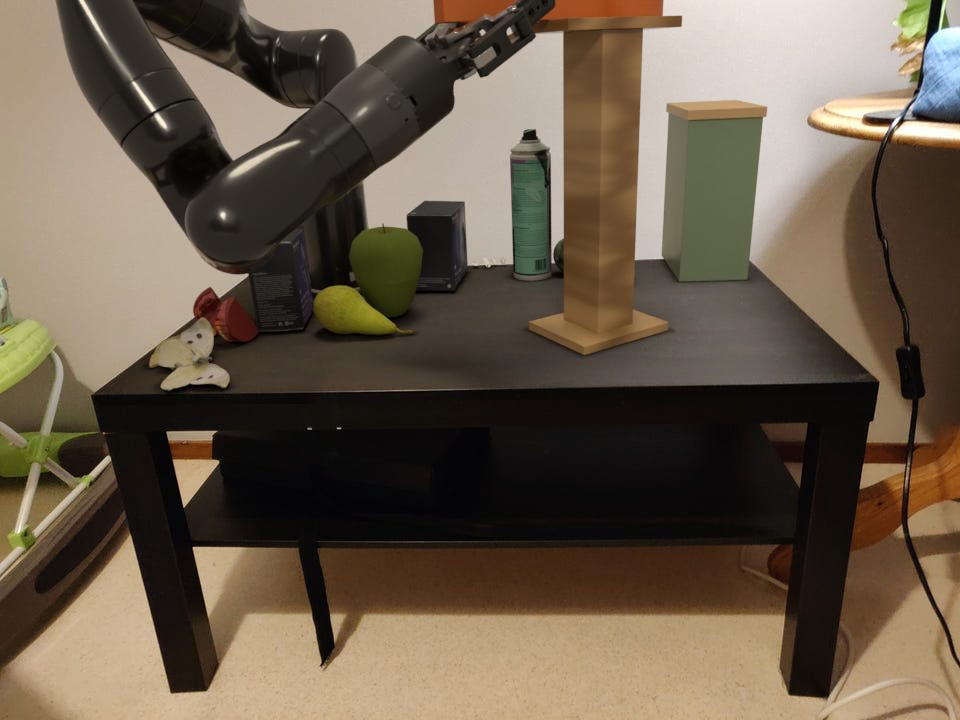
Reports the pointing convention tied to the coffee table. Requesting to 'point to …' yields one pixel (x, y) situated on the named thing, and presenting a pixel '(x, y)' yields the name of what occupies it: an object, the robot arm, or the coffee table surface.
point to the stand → (600, 181)
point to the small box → (440, 243)
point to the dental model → (225, 317)
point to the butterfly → (191, 358)
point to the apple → (387, 268)
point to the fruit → (350, 313)
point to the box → (283, 287)
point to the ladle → (467, 3)
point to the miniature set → (488, 262)
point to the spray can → (531, 208)
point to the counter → (711, 188)
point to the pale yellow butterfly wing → (154, 357)
